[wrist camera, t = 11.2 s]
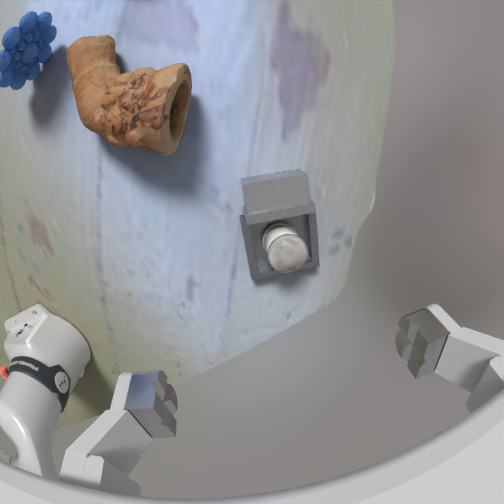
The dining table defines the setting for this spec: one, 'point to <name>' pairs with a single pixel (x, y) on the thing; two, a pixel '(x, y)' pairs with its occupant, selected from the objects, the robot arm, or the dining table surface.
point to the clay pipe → (129, 97)
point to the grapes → (26, 49)
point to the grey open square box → (277, 216)
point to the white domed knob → (284, 247)
